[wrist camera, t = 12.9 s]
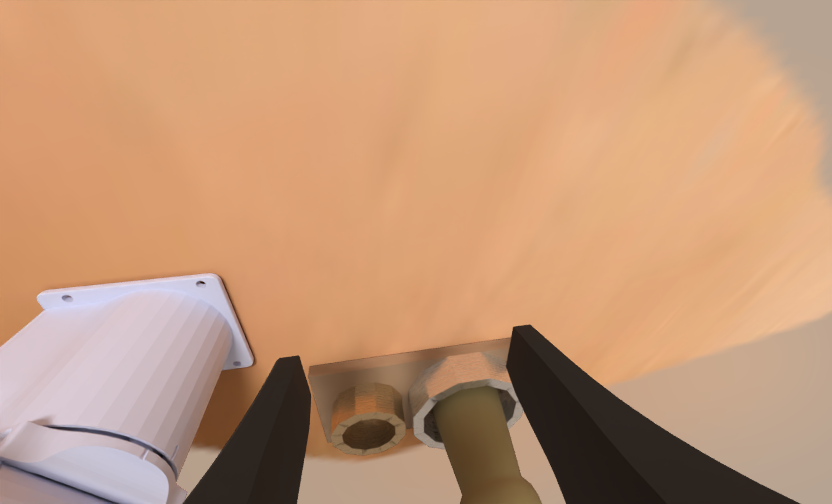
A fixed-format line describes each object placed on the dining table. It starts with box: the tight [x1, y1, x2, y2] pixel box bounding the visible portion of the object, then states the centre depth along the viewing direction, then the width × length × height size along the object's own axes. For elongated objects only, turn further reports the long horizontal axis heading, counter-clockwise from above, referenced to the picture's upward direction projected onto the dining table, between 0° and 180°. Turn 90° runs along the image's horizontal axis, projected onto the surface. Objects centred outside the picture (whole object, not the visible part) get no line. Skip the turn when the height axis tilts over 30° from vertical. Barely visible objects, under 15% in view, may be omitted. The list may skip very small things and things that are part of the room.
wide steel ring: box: [409, 352, 523, 449], centre depth 27 cm, size 9×9×2 cm
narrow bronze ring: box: [331, 382, 406, 455], centre depth 26 cm, size 6×6×2 cm
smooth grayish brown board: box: [308, 338, 511, 443], centre depth 28 cm, size 17×9×1 cm, turn 92°
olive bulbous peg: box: [431, 386, 542, 504], centre depth 23 cm, size 6×6×11 cm
